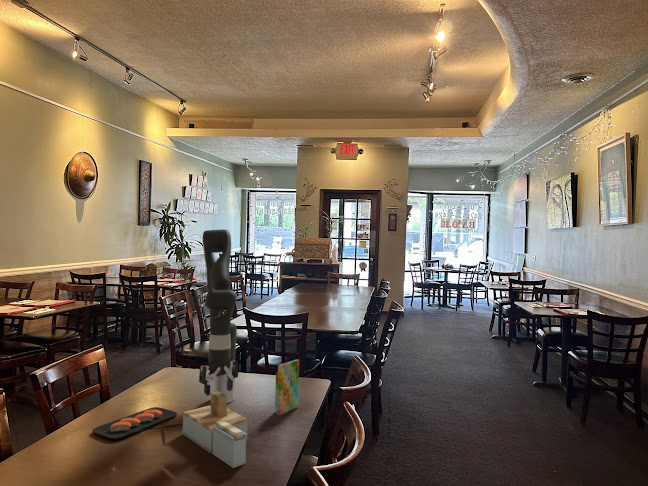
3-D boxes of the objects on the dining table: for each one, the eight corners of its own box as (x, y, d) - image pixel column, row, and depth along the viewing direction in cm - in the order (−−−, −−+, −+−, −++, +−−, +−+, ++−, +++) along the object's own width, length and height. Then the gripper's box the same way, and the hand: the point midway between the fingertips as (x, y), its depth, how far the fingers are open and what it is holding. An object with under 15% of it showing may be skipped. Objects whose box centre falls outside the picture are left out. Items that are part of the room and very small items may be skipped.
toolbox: (182, 434, 167) (182, 408, 167) (217, 424, 177) (218, 400, 177) (232, 468, 143) (232, 438, 143) (269, 454, 152) (270, 426, 152)
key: (216, 428, 153) (216, 421, 153) (222, 426, 154) (222, 420, 154) (235, 439, 144) (236, 433, 144) (242, 437, 146) (242, 431, 146)
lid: (183, 414, 167) (184, 392, 167) (217, 406, 176) (218, 384, 176) (211, 431, 153) (212, 407, 153) (246, 421, 162) (247, 398, 162)
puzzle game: (281, 416, 186) (282, 365, 186) (272, 413, 189) (273, 363, 189) (299, 408, 196) (300, 360, 196) (291, 405, 199) (292, 358, 199)
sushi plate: (155, 410, 191) (155, 401, 191) (209, 426, 176) (210, 416, 176) (88, 435, 166) (88, 424, 166) (145, 456, 151) (145, 444, 151)
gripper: (206, 351, 158) (205, 399, 158) (242, 345, 168) (241, 391, 167) (196, 347, 163) (195, 394, 163) (231, 342, 173) (230, 386, 173)
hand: (218, 392), depth 165 cm, fingers open, 8 cm apart
